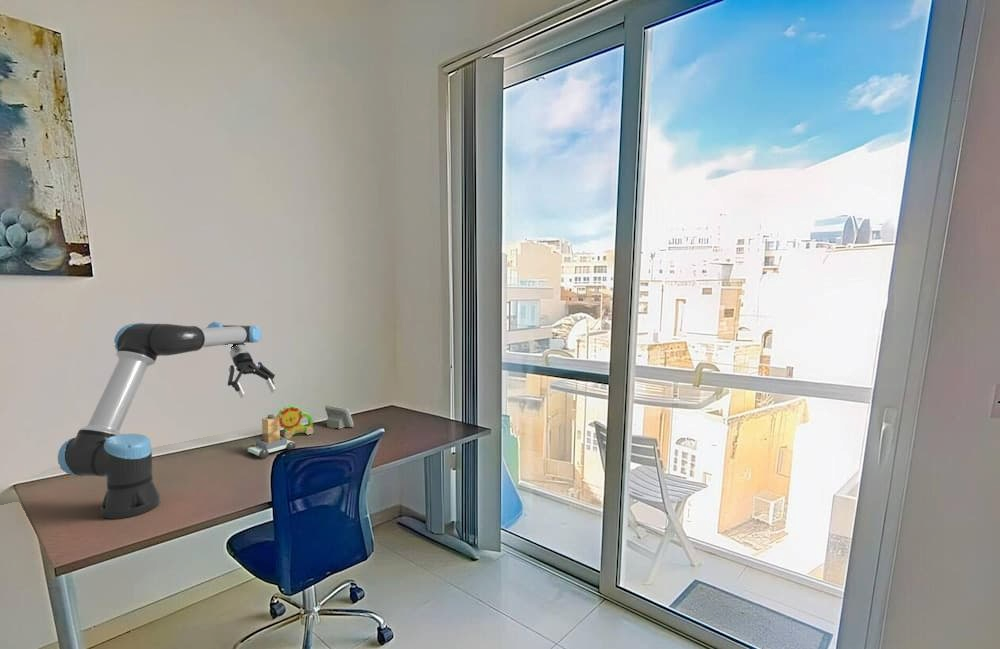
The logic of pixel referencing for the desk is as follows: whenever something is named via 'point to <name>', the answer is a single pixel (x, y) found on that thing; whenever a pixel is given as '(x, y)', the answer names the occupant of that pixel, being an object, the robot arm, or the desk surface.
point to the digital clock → (338, 417)
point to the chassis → (269, 447)
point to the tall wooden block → (270, 429)
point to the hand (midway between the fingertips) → (258, 393)
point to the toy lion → (294, 421)
